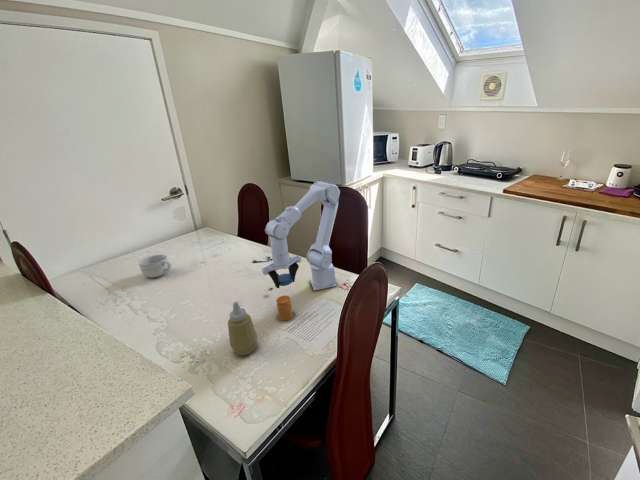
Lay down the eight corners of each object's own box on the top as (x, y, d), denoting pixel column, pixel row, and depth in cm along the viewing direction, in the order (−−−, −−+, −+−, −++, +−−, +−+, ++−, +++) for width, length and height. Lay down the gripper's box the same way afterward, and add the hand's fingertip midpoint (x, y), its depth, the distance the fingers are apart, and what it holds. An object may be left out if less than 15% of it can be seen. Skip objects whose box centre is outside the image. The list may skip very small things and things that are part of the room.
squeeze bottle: (237, 341, 103) (226, 295, 96) (262, 339, 104) (252, 294, 97) (228, 359, 96) (216, 312, 89) (255, 357, 96) (245, 310, 89)
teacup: (138, 277, 141) (132, 262, 138) (161, 266, 150) (156, 251, 147) (159, 283, 136) (153, 267, 133) (181, 271, 145) (176, 256, 142)
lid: (274, 286, 115) (274, 281, 115) (279, 277, 121) (278, 273, 120) (290, 285, 115) (290, 281, 115) (294, 277, 121) (293, 273, 120)
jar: (290, 310, 118) (288, 293, 115) (294, 317, 114) (291, 300, 111) (277, 314, 116) (274, 297, 113) (280, 322, 112) (277, 305, 109)
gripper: (265, 262, 106) (271, 296, 111) (303, 249, 115) (307, 281, 120) (257, 255, 111) (263, 288, 116) (294, 243, 119) (298, 274, 125)
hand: (285, 284), depth 118 cm, fingers closed on lid, 6 cm apart
